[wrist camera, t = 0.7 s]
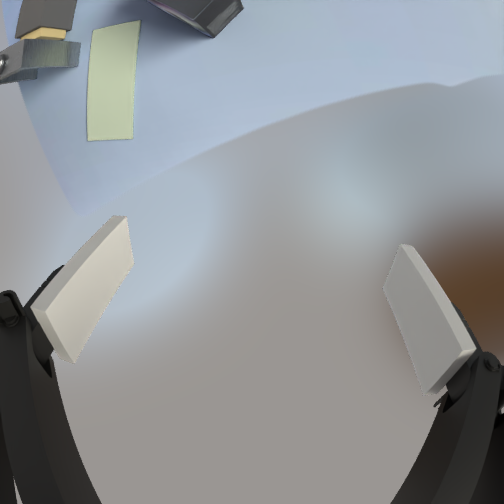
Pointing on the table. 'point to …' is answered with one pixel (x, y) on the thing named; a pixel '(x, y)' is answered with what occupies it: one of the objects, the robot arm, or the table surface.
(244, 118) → the table surface
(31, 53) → the frame
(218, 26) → the small box
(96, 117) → the mat
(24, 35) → the plug
